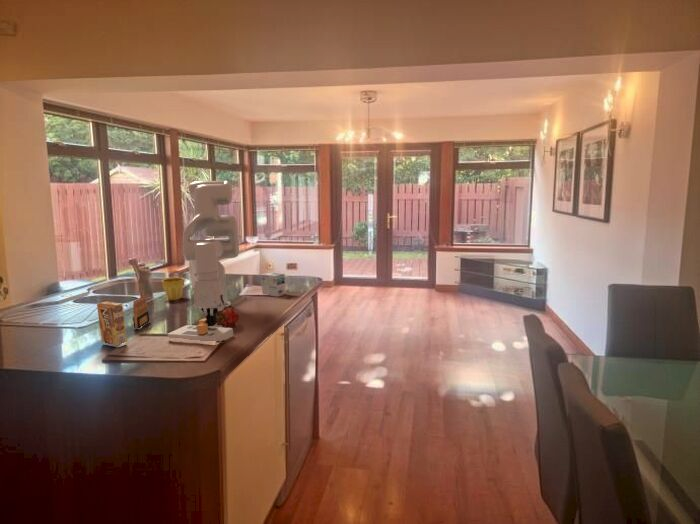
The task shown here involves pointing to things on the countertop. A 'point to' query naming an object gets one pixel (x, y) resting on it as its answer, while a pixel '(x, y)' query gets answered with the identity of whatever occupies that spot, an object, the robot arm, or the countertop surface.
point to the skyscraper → (192, 271)
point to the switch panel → (211, 335)
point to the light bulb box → (273, 284)
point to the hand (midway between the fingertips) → (211, 325)
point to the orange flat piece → (140, 312)
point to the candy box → (111, 323)
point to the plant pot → (173, 288)
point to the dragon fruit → (227, 317)
